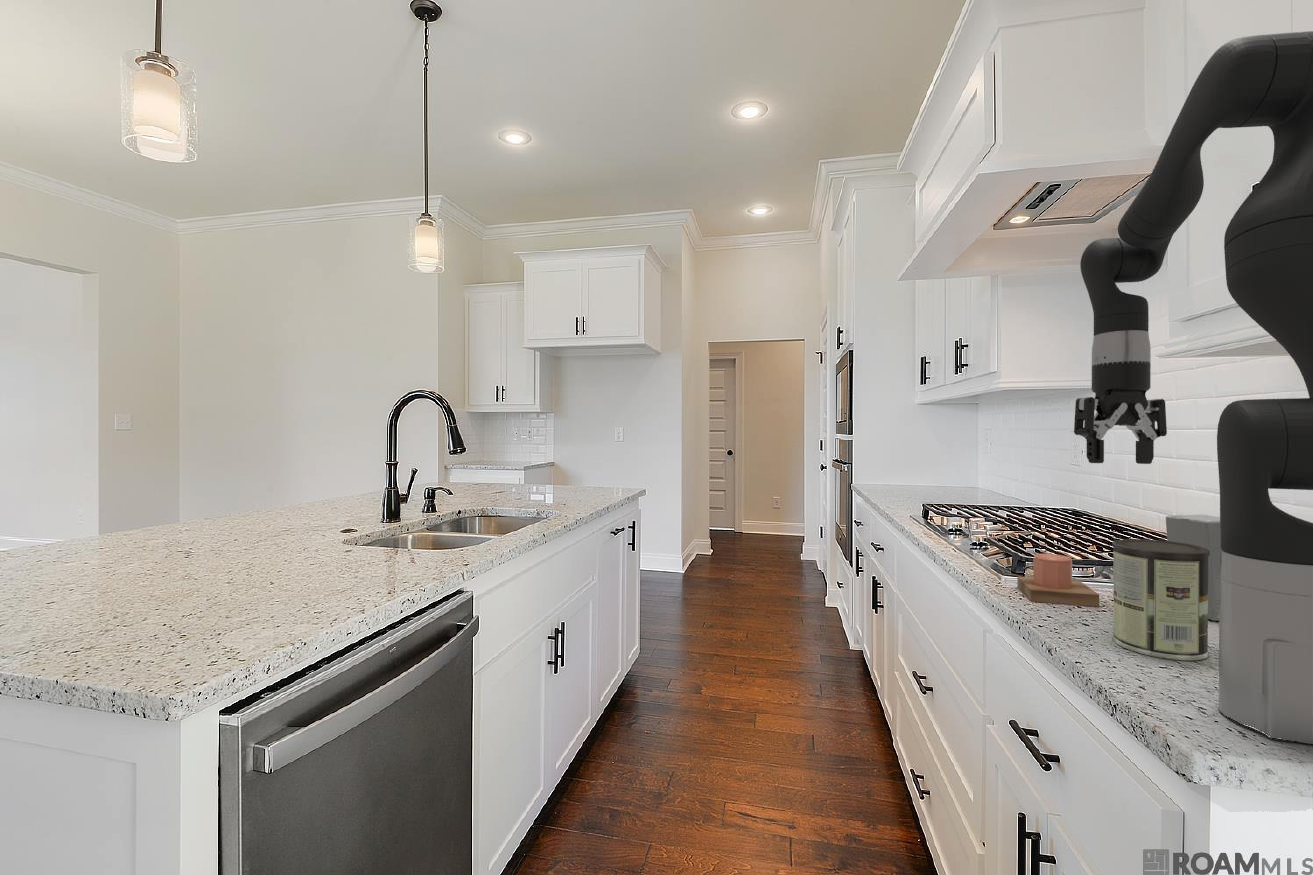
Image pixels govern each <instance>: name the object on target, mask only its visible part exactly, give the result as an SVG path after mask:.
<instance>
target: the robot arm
mask: <svg viewBox="0 0 1313 875" xmlns="http://www.w3.org/2000/svg"><path fill="white" fill-rule="evenodd" d="M1255 127H1268V128H1269V129H1270V130H1271V132H1272V136H1273V146H1274V147H1273V155H1272V161H1271V164H1270V166H1269V167H1268V169H1267V171H1266V172H1265V174H1264V175H1263V177H1262V178H1261V179H1260V180H1259V181H1258V183H1257V185H1256V186H1255V187H1254V188H1253V189H1252V190H1251V192H1250V193H1249V194H1248V196H1247V197H1246V198H1245V199H1244V200H1243V202H1242V203H1241V205H1240V206H1239V207H1238V209H1237V210H1236V212H1234V215H1233V216H1232V218H1231V220H1230V221H1229V223H1228V226H1227V227H1226V230H1225V232H1224V236H1223V237H1224V239H1223V240H1224V241H1223V244H1224V245H1223V252H1224V265H1225V266H1224V268H1225V278H1226V279H1225V281H1226V282H1225V283H1226V287H1227V290H1228V293H1229V295H1230V296H1231V298H1232V299H1233V300H1234V301H1235V302H1236V304H1237V305H1238V306H1239V307H1240V309H1242V310H1243V312H1245V314H1247V315H1248V316H1249V317H1250V318H1251V320H1253V322H1255V323H1256V324H1258V325H1259V327H1260V328H1262V329H1263V330H1264V331H1266V333H1268V334H1269V336H1271V337H1273V339H1274V340H1275V341H1276V342H1277V343H1278V344H1280V345H1281V347H1283V349H1284V350H1285V351H1286V352H1287V353H1288V354H1289V356H1290V357H1291V359H1292V360H1293V361H1294V363H1295V365H1296V366H1297V367H1298V370H1299V371H1300V372H1299V373H1300V374H1301V376H1302V378H1303V381H1304V384H1305V386H1306V390H1307V393H1308V397H1304V398H1303V397H1302V398H1301V397H1300V398H1298V397H1296V398H1260V399H1256V398H1255V399H1254V398H1253V399H1241V400H1240V399H1239V400H1235V401H1232V402H1231V403H1228V404H1227V405H1226V406H1225V408H1224V409H1223V410H1222V412H1221V414H1220V416H1219V421H1218V424H1217V431H1216V432H1217V433H1216V452H1217V466H1218V467H1217V468H1218V469H1217V470H1218V483H1219V484H1218V486H1219V517H1220V528H1221V550H1220V607H1219V622H1218V624H1219V626H1218V627H1219V628H1218V710H1219V712H1220V713H1221V712H1222V713H1223V714H1222V715H1224V716H1225V717H1226V716H1227V717H1226V718H1228V717H1230V718H1231V719H1233V720H1235V721H1237V722H1239V723H1241V724H1245V725H1248V726H1251V727H1254V728H1256V729H1258V730H1260V731H1263V732H1264V733H1265V734H1267V735H1268V736H1270V737H1271V738H1270V739H1272V738H1281V739H1285V740H1284V741H1286V740H1292V741H1291V742H1294V741H1298V742H1297V743H1303V744H1312V745H1313V522H1311V521H1308V520H1305V519H1302V518H1299V517H1296V516H1294V515H1291V514H1289V513H1288V512H1285V511H1284V510H1282V509H1280V508H1279V507H1277V506H1276V505H1274V503H1272V500H1271V497H1270V493H1269V489H1270V490H1272V489H1273V490H1299V491H1304V490H1305V491H1313V31H1311V30H1310V31H1298V32H1297V31H1296V32H1295V31H1294V32H1284V33H1283V32H1282V33H1280V32H1279V33H1271V34H1270V33H1269V34H1259V35H1250V36H1244V37H1243V36H1242V37H1238V38H1233V39H1231V40H1229V41H1227V42H1225V43H1224V44H1223V45H1221V46H1220V47H1219V48H1217V50H1215V52H1214V53H1212V56H1210V58H1209V59H1208V60H1207V61H1206V63H1205V65H1204V66H1203V67H1202V69H1201V71H1200V72H1199V74H1198V76H1197V77H1196V79H1195V81H1194V83H1193V85H1192V86H1191V89H1190V91H1189V93H1188V95H1187V97H1186V99H1185V102H1184V103H1183V105H1182V108H1181V109H1180V112H1179V113H1178V116H1177V118H1176V120H1175V122H1174V124H1173V126H1172V128H1171V130H1170V132H1169V135H1168V137H1167V139H1166V141H1165V144H1164V145H1163V148H1162V150H1161V152H1160V155H1159V156H1158V159H1157V161H1156V163H1155V165H1154V168H1153V169H1152V171H1151V173H1150V175H1149V177H1148V178H1147V180H1146V182H1145V183H1144V185H1143V186H1142V188H1141V190H1140V191H1139V192H1138V194H1137V195H1136V196H1135V198H1134V199H1133V201H1132V203H1131V204H1130V205H1129V206H1128V208H1127V210H1126V211H1125V212H1124V214H1123V216H1122V217H1121V218H1120V221H1119V223H1118V224H1117V234H1118V236H1119V237H1111V238H1108V237H1107V238H1099V239H1096V240H1093V241H1091V243H1089V244H1088V245H1087V247H1086V248H1085V249H1084V250H1083V251H1082V255H1081V258H1080V264H1079V265H1080V266H1079V267H1080V273H1081V277H1082V280H1083V282H1084V285H1085V288H1086V291H1087V293H1088V296H1089V301H1090V304H1091V307H1092V311H1093V312H1092V313H1093V338H1092V339H1093V340H1092V347H1091V391H1092V393H1093V394H1094V393H1095V396H1094V397H1093V396H1091V397H1090V396H1089V397H1078V398H1077V399H1075V408H1074V410H1075V411H1074V425H1073V433H1074V435H1076V436H1080V437H1082V438H1084V439H1086V440H1085V441H1086V459H1087V461H1088V463H1090V464H1103V463H1104V462H1105V439H1103V438H1104V436H1105V435H1106V434H1107V432H1108V431H1109V430H1110V429H1112V428H1113V427H1114V426H1121V427H1122V426H1123V427H1124V426H1125V428H1127V429H1128V430H1130V431H1131V432H1132V433H1133V435H1134V436H1135V438H1136V439H1137V440H1136V441H1135V462H1136V464H1138V465H1151V464H1152V463H1153V461H1154V454H1155V453H1154V448H1155V447H1154V446H1155V445H1154V444H1155V443H1154V442H1155V440H1157V438H1159V437H1166V436H1167V434H1168V430H1167V412H1166V411H1167V410H1166V401H1165V399H1164V398H1155V399H1147V396H1146V394H1147V392H1148V391H1150V389H1151V386H1152V385H1151V380H1152V379H1151V374H1152V373H1151V371H1152V370H1151V369H1152V368H1151V366H1152V365H1151V357H1152V356H1151V352H1152V351H1151V342H1150V341H1151V340H1150V334H1149V326H1150V325H1149V322H1150V320H1149V319H1150V318H1149V315H1150V314H1149V302H1148V299H1146V298H1145V297H1144V296H1141V295H1137V294H1132V293H1127V292H1124V291H1122V290H1121V289H1120V288H1119V286H1118V285H1117V284H1122V283H1123V284H1124V283H1139V282H1144V281H1146V280H1148V279H1150V278H1152V277H1153V276H1155V275H1156V274H1157V273H1158V272H1159V271H1160V269H1161V267H1162V265H1163V263H1164V259H1165V256H1166V253H1167V250H1168V247H1169V245H1170V243H1171V241H1172V238H1173V236H1174V234H1175V233H1176V232H1177V231H1178V230H1179V229H1180V227H1181V226H1182V225H1183V223H1184V222H1186V220H1187V219H1188V217H1189V216H1190V215H1191V214H1192V213H1193V212H1194V211H1195V208H1196V207H1197V206H1198V204H1199V202H1200V199H1201V197H1202V195H1203V192H1204V187H1205V186H1204V185H1205V184H1204V183H1205V180H1204V179H1205V178H1204V171H1203V167H1202V159H1201V158H1202V157H1201V151H1202V147H1203V145H1204V143H1205V142H1206V140H1207V139H1208V138H1209V137H1210V136H1211V135H1212V134H1213V133H1214V132H1215V131H1216V130H1218V129H1235V128H1255ZM1095 411H1096V412H1095ZM1231 719H1230V720H1231ZM1233 720H1232V721H1233ZM1235 721H1234V722H1235ZM1237 722H1236V723H1237ZM1239 723H1238V724H1239ZM1241 724H1240V725H1241Z"/></svg>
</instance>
